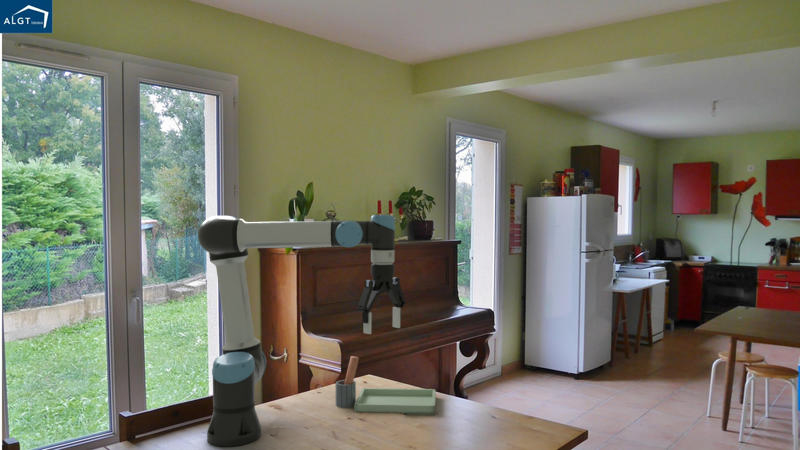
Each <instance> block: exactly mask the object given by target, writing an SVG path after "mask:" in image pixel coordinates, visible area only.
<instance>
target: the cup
mask: <svg viewBox="0 0 800 450" xmlns="http://www.w3.org/2000/svg"><path fill="white" fill-rule="evenodd" d="M344 382H345V379H341V380H338V381H337V380H336V382H335V406H336V407H337V408H343V409H347V408H352V407H353V408H354V404H355V402H356V400H357V390H356V389H357V381H355V380H354V381H353V383H352V384H348V385H344Z"/></svg>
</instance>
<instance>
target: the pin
mask: <svg viewBox="0 0 800 450" xmlns="http://www.w3.org/2000/svg"><path fill="white" fill-rule="evenodd" d="M359 359H360V358H359V356H353V355H352V356H351V355H350V359H349V362H348V365H347V370H346V375H345V379H344V380H345V382H344V385H348V384H352V383H353V381H355V377H356V372H357V368H358V365H359V364H358V363H359Z"/></svg>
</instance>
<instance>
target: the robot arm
mask: <svg viewBox="0 0 800 450" xmlns="http://www.w3.org/2000/svg"><path fill="white" fill-rule="evenodd" d="M370 217H371V219H370V220H335V221H333V220H332V221H331V220H329V221H328V220H326V221H322V220H321V221H320V220H319V221H311V220H310V221H252V222H251V221H249V222H248V221H245V220H244V219H243V218H237V217H235V216H232V215H214V216H210V217H208V218H207V219H205V220H204V221H203V222H202V223H201V224H200V226H199V228H198V231H197V240H198V242H199V244H200V246H201V248H202V249H203V250H204V251H206V252H207V253H208V256H209V262H210V263H211V264H213V265H214V266H215V268H216V275H217V283H218V290H219V297H220V304H221V305H220V306H221V312H222V320H223V326H224V334H225V341H226V342H225V343H224V345H223V346H222V350H221V351H222V355H219V356H218V357H216V358H215V359H214V360H213V362H212V363H213V364H212V370H211V376H212V404H213V405H212V409H213V410H212V416H211V418H210V423H209V424H208V427H207V431H206V440H207V442H208V443H209V444H210V445H213V446H216V447H222V448H223V447H224V448H225V447H226V448H227V447H229V448H230V447H239V446H242V445H243V446H244V445H247V444H250V443H252V442H255V441H257V440H258V439H259V438H261V436H262V426H261V422H260V420H259V417H258V413H257V412H256V405H255V400H256V399H255V395H256V394H255V391H256V390H255V387H256V385H257V384H258V382H259V381H260V380H261V379H262V377H264V374H265V372H266V368H267V358H266V355H265V353H264V352H263V350H262V346H261V340H260V339H258V338H257V337H256V336H255V332H254V331H255V330H254V324H253V316H252V310H251V301H250V296H249V295H250V294H249V287H248V281H247V274H246V266H245V262H246V260H247V258H249V250H248V249H265V248H266V249H269V248H270V249H271V248H273V249H274V248H328V247H330V248H332V247H334V248H335V247H337V248H338V247H345V248H354V247H357V246H358V245H359V246H360V245H367V246H369V245H370V262H371V265H370V276H372V280H370V279H365V281H364V287H363V290H362V293H361V296H360V299H359V302H358V304H357V309H356V310H357V311H358V312H360V313H362V314H361V316H362V320H361V321H362V323H363V330H362V331H363V334H367V335H372V318H373V317H372V314H373V313H372V312H371V310H372V307H373V306H374V304H375V303H376V301H377V299H378V298H379V296H380V295H381V294H385V293H386V294H387V296H388V298H389V299H390V301H391V303H392V304H393V305H394V306H392V328H396V329H400V328H401V317H402V308H404V307H405V305H406V304H407V302H406V299H405V295H404V291H403V290H402V287H401V281H400V277H398V276H395V270H396V265H395V264H394V263H395V244H396V240H395V239H396V224H395V223H396V221H395V217H394V216H393V215H391V214H372V216H370ZM394 276H395V277H394Z"/></svg>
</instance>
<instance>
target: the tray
mask: <svg viewBox="0 0 800 450" xmlns="http://www.w3.org/2000/svg"><path fill="white" fill-rule="evenodd" d="M436 391H437V390H436V389H435V388H433V389H432V388H384V387H383V388H382V387H381V388H379V387H378V388H377V387H376V388H375V387H370V388H369V387H362V388H361V390H360V392H359V394H358V396H357V397H356V402H355V404H354V406H353V409H354V413H396V414H397V413H398V414H401V413H402V414H403V415H408V416H409V415H414V416H415V415H416V416H417V415H419V416H422V415H423V416H424V415H425V416H435V415H436V398H437V397H436Z"/></svg>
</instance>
